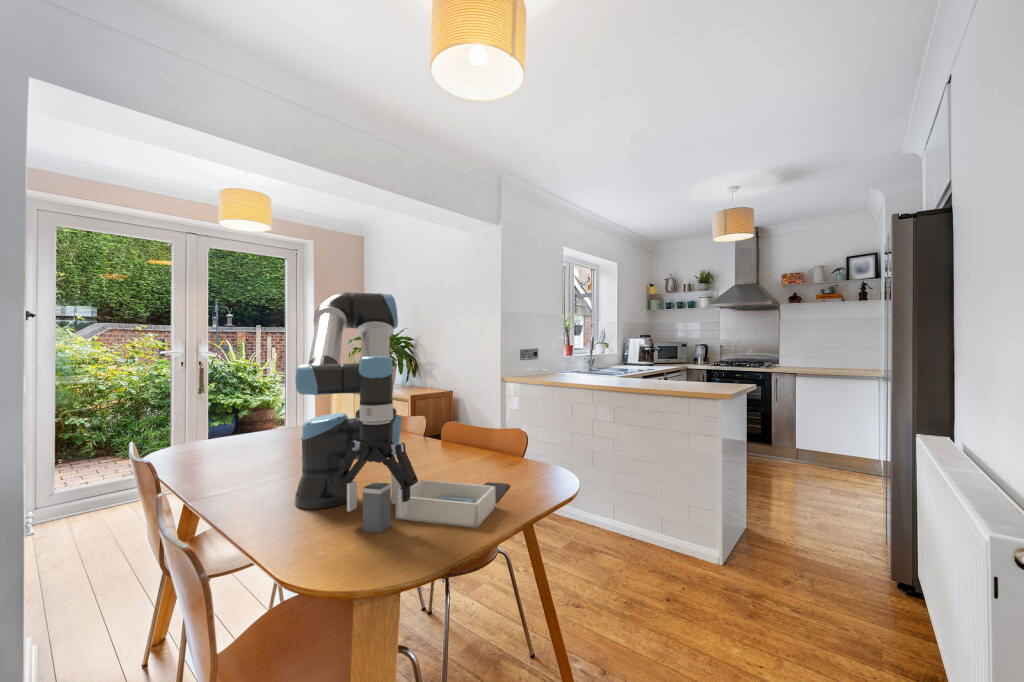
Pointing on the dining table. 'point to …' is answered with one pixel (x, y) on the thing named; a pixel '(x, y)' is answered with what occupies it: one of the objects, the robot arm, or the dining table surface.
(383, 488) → the grey plug
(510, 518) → the dining table surface
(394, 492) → the cream plug
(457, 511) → the tray box
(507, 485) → the smartphone
